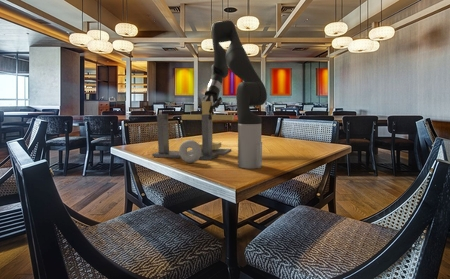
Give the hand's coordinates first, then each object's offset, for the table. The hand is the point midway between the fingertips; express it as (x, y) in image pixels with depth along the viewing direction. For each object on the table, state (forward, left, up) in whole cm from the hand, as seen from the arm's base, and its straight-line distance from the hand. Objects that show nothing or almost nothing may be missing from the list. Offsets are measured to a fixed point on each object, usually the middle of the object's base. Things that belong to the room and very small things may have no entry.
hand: (205, 112), depth 134 cm
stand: (+6, +13, -21) cm, 25 cm away
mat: (-1, -2, -21) cm, 21 cm away
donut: (-2, +25, -21) cm, 33 cm away
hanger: (0, -2, -19) cm, 19 cm away
